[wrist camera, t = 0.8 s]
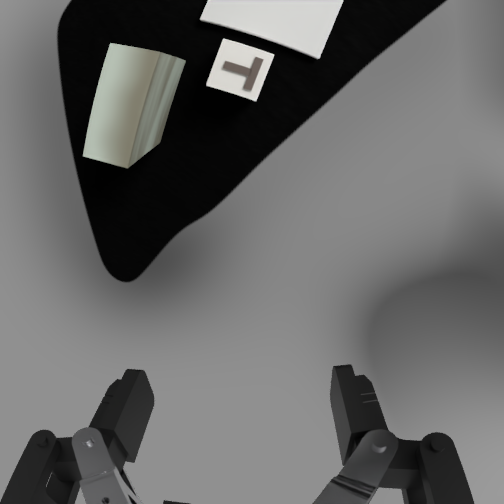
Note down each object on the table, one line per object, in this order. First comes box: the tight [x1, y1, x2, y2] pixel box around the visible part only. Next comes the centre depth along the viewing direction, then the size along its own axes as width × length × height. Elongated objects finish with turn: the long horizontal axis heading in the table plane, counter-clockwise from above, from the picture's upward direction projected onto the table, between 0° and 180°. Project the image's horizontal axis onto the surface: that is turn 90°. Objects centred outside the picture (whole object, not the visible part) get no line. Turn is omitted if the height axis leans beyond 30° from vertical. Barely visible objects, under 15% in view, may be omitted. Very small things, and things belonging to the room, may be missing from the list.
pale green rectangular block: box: [83, 43, 186, 168], centre depth 24 cm, size 4×9×10 cm, turn 160°
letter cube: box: [206, 39, 274, 101], centre depth 26 cm, size 4×4×5 cm
